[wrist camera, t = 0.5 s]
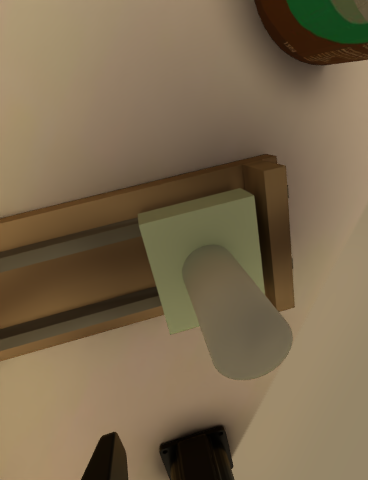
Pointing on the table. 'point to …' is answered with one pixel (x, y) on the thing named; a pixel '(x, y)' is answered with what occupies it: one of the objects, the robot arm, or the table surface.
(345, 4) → the food container
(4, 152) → the table surface
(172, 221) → the carriage
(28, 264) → the slide rail
